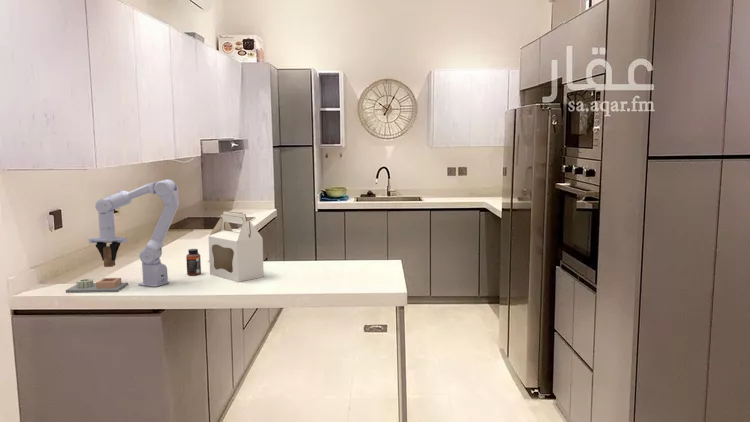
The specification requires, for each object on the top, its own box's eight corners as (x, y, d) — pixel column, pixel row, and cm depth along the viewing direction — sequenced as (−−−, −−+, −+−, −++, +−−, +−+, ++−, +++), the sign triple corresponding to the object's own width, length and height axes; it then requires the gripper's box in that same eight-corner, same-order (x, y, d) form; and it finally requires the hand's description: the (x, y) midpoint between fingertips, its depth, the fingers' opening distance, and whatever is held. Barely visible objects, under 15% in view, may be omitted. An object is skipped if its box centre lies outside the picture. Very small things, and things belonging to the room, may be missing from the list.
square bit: (115, 265, 237) (114, 246, 236) (112, 266, 233) (110, 247, 232) (107, 265, 236) (106, 246, 235) (104, 266, 233) (102, 247, 232)
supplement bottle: (202, 274, 252) (201, 249, 251) (188, 276, 249) (187, 251, 248) (199, 272, 257) (198, 247, 256) (185, 273, 254) (184, 248, 253)
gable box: (209, 274, 253) (206, 212, 250) (234, 269, 263) (232, 209, 260) (238, 282, 239) (236, 216, 235) (264, 276, 248) (262, 213, 245)
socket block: (128, 284, 235) (127, 276, 235) (117, 291, 224) (117, 283, 224) (79, 285, 234) (78, 277, 234) (65, 292, 224) (65, 283, 223)
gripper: (84, 229, 229) (86, 262, 230) (120, 228, 229) (123, 261, 231) (92, 226, 236) (94, 258, 237) (127, 226, 236) (129, 258, 238)
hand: (109, 260), depth 234 cm, fingers closed on square bit, 3 cm apart
